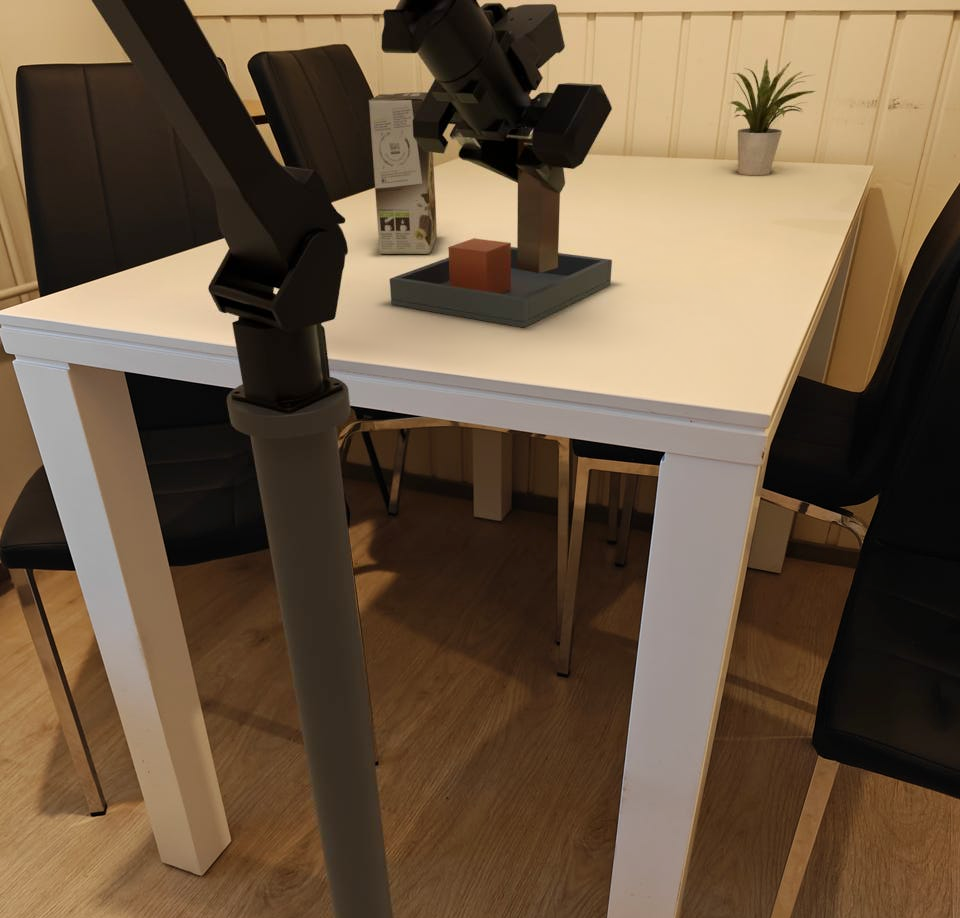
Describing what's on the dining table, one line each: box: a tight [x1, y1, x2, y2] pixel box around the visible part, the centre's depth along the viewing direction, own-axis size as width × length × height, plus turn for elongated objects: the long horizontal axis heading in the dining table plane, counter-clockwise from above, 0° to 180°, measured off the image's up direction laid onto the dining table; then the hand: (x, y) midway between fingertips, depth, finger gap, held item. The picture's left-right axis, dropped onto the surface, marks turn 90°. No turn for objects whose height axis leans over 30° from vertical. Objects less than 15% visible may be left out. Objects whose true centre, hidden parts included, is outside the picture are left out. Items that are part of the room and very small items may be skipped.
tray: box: [389, 246, 613, 328], centre depth 93 cm, size 18×16×2 cm
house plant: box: [729, 58, 816, 176], centre depth 147 cm, size 14×14×16 cm
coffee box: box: [368, 91, 438, 255], centre depth 107 cm, size 9×6×16 cm
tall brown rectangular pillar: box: [516, 139, 561, 273], centre depth 83 cm, size 3×3×14 cm
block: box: [448, 237, 512, 294], centre depth 91 cm, size 4×4×4 cm
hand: (548, 186), depth 84 cm, fingers closed on tall brown rectangular pillar, 3 cm apart
